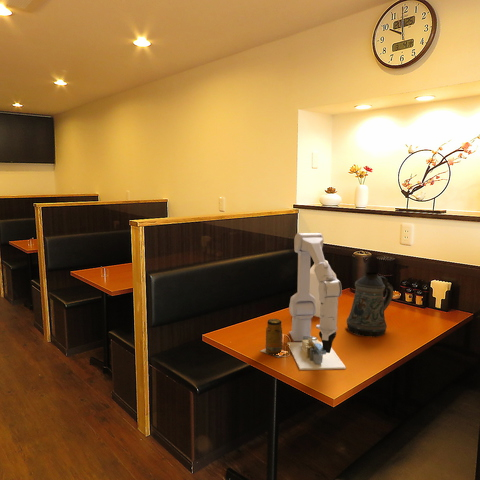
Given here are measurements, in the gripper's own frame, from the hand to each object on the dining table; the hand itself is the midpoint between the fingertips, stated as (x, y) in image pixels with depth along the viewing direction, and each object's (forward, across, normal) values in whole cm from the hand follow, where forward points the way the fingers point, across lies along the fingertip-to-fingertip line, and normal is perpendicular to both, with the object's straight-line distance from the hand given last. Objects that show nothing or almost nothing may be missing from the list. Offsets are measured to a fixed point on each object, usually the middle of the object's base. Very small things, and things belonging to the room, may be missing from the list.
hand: (326, 352), depth 142 cm
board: (+5, -7, -5) cm, 10 cm away
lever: (0, -2, -4) cm, 4 cm away
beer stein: (+6, -42, +12) cm, 44 cm away
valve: (+5, -6, -6) cm, 10 cm away
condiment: (+5, -5, -20) cm, 21 cm away
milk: (+6, -57, -11) cm, 58 cm away
